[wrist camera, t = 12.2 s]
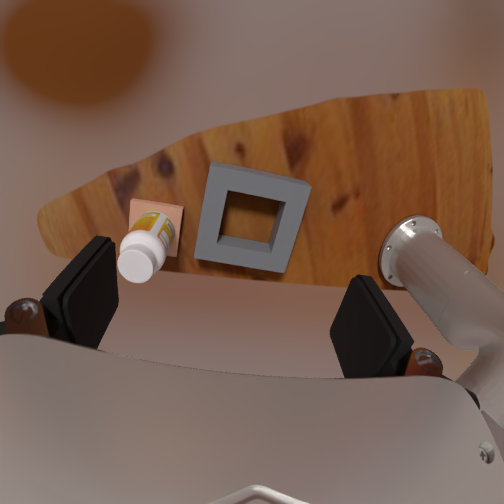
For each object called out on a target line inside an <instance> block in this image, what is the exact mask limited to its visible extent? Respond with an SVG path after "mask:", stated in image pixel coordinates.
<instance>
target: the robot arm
mask: <svg viewBox="0 0 504 504" xmlns="http://www.w3.org/2000/svg"><path fill="white" fill-rule="evenodd" d="M379 266H380V270H381V273H382V274H383V276H384V277H385V279H386V280H387V281H388V282H389V283H391V284H392V285H395V286H399V287H405V288H406V289H407V291H408V292H409V293H410V294H411V295H412V297H413V298H414V299H415V301H416V302H417V303H418V304H419V305H420V307H421V308H422V309H423V311H424V312H425V313H426V315H427V316H428V317H429V319H430V320H431V321H432V323H433V324H434V325H435V327H436V328H437V330H438V331H439V332H440V334H441V335H442V336H443V338H444V339H445V340H446V341H447V342H448V343H449V344H450V345H451V346H453V347H455V348H458V349H462V350H479V353H478V355H477V357H476V358H475V359H474V361H473V362H472V363H471V365H470V366H469V367H468V368H467V369H466V371H464V373H463V374H462V375H461V376H460V377H459V378H458V379H457V380H456V381H455V382H454V381H452V380H451V379H449V378H447V377H445V376H444V375H442V373H443V364H442V362H441V360H440V358H439V357H438V356H437V355H436V354H435V353H434V352H432V351H431V350H429V349H426V348H421V347H420V348H416V349H414V350H412V349H411V346H412V345H413V343H414V340H413V339H412V337H411V335H410V334H409V332H408V331H407V329H406V327H405V326H404V325H403V323H402V321H401V320H400V318H399V317H398V315H397V313H396V312H395V310H394V309H393V308H392V306H391V304H390V303H389V302H388V300H387V299H386V297H385V296H384V294H383V293H382V291H381V290H380V288H379V287H378V285H377V284H376V282H375V281H374V280H373V278H372V277H371V276H365V275H357V276H356V277H355V278H352V279H351V281H350V284H349V286H348V289H347V291H346V293H345V296H344V298H343V301H342V303H341V306H340V308H339V310H338V312H337V314H336V317H335V319H334V321H333V323H332V326H331V328H330V337H331V340H332V343H333V345H334V348H335V351H336V354H337V357H338V360H339V363H340V366H341V369H342V371H343V375H344V377H345V378H296V377H275V376H260V375H247V374H237V373H227V372H218V371H209V370H202V369H195V368H188V367H181V366H175V365H169V364H163V363H158V362H152V361H147V360H142V359H137V358H132V357H128V356H123V355H119V354H114V353H110V352H106V351H102V350H98V349H97V348H98V345H99V343H100V341H101V339H102V337H103V335H104V333H105V331H106V329H107V327H108V325H109V323H110V321H111V319H112V317H113V315H114V313H115V311H116V309H117V307H118V302H119V298H118V286H117V271H116V251H115V243H114V242H112V241H111V238H109V237H103V236H95V237H94V238H93V239H92V240H91V241H90V242H89V243H88V244H87V245H86V246H85V247H84V248H83V249H82V250H81V251H80V253H79V254H78V255H77V256H76V257H75V258H74V259H73V260H72V261H71V262H70V263H69V264H68V265H67V266H66V268H65V269H64V270H63V271H62V272H61V273H60V274H59V276H58V277H57V278H56V279H55V280H54V281H53V282H52V283H51V285H50V286H49V287H48V288H47V289H46V291H45V292H44V293H43V297H42V298H41V300H40V301H38V300H36V299H33V298H22V299H19V300H16V301H14V302H13V303H11V304H10V305H9V306H8V307H7V309H6V311H5V316H4V317H5V321H3V322H0V504H504V429H503V428H504V292H503V291H501V290H500V289H499V288H498V287H497V286H496V285H495V284H494V283H493V282H492V281H491V280H489V279H488V278H487V277H486V276H485V275H484V274H483V273H482V272H481V271H480V270H478V269H477V268H476V267H475V266H474V265H473V264H472V263H470V262H469V261H468V260H467V259H466V258H465V257H463V256H462V255H461V254H460V253H459V252H457V251H456V250H455V249H454V248H453V247H451V246H450V245H449V244H448V243H446V242H445V241H444V240H443V238H442V233H441V230H440V228H439V226H438V224H437V223H435V222H434V221H433V220H432V219H430V218H429V217H426V216H421V215H417V216H412V217H409V218H406V219H405V220H403V221H401V222H400V223H399V224H397V225H396V226H395V227H394V228H393V229H392V230H391V232H390V233H389V234H388V236H387V237H386V239H385V241H384V243H383V245H382V248H381V251H380V257H379Z"/></svg>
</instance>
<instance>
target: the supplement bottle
mask: <svg viewBox="0 0 504 504" xmlns="http://www.w3.org/2000/svg"><path fill="white" fill-rule="evenodd" d="M174 234H175V229H174V225H173V223H172V221H171V219H170V218H169V217H168V216H167V215H165V214H163V213H161V212H157V211H150V212H147V213H145V214H143V215H142V216H141V217H140V218H139V219H138V220H137V221H136V223H135V224H134V225H133V227H132V228H131V229H130V231H129V232H128V233H127V235H126V236H125V238H124V239H123V241H122V243H121V246H120V256H119V258H118V268H119V271H120V273H121V274H122V276H123V277H124V278H126V279H127V280H129V281H131V282H134V283H142V282H145V281H147V280H149V279H150V278H151V276H152V274H154V273H156V272H157V271H158V270H160V268H161V267H162V266H163V264H164V262H165V259H166V256H167V254H168V251H169V249H170V246H171V244H172V241H173V238H174Z"/></svg>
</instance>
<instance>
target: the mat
mask: <svg viewBox="0 0 504 504" xmlns="http://www.w3.org/2000/svg"><path fill="white" fill-rule="evenodd" d="M183 209H184V206H178V205H172V204H166V203H160V202H154V201H148V200H141V199H135V198H133V199H132V200H131V203H130V218H129V231H130V229H131V228H132V227H133V225H134V224H135V223H136V221H137V220H138V219H139V218H140V217H141V216H142V215H143V214H145V213H147V212H150V211H157V212H161V213H163V214H165V215H167V216H168V217H169V218H170V219H171V221H172V223H173V225H174V229H175V234H174V238H173V241H172V244H171V246H170V249H169V251H168V254H167V256H172V257H177V253H178V245H179V237H180V230H181V223H182V216H183Z"/></svg>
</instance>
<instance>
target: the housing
mask: <svg viewBox="0 0 504 504" xmlns="http://www.w3.org/2000/svg"><path fill="white" fill-rule="evenodd" d="M228 190H230V191H235V192H240V193H245V194H250V195H255V196H260V197H265V198H269V199H274V200H279V201H280V204H279V207H278V211H277V215H276V218H275V222H274V225H273V229H272V232H271V236H270V239H269V243H264V242H258V241H253V240H248V239H242V238H236V237H231V236H225V235H220V234H219V229H220V224H221V219H222V214H223V210H224V205H225V200H226V195H227V191H228ZM310 191H311V186H310V185H309V184H308V183H307V182H306V181H303V180H299V179H295V178H291V177H286V176H282V175H278V174H274V173H269V172H265V171H260V170H256V169H251V168H246V167H241V166H236V165H231V164H226V163H221V162H215V161H212V162H211V165H210V169H209V174H208V179H207V185H206V190H205V195H204V201H203V206H202V212H201V218H200V224H199V230H198V236H197V242H196V248H195V255H194V258H197V259H203V260H209V261H214V262H220V263H226V264H232V265H238V266H244V267H250V268H256V269H262V270H268V271H274V272H280V273H285V270H286V267H287V264H288V261H289V258H290V255H291V251H292V248H293V245H294V242H295V239H296V236H297V233H298V230H299V226H300V223H301V220H302V217H303V214H304V210H305V207H306V204H307V201H308V197H309V194H310Z"/></svg>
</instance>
